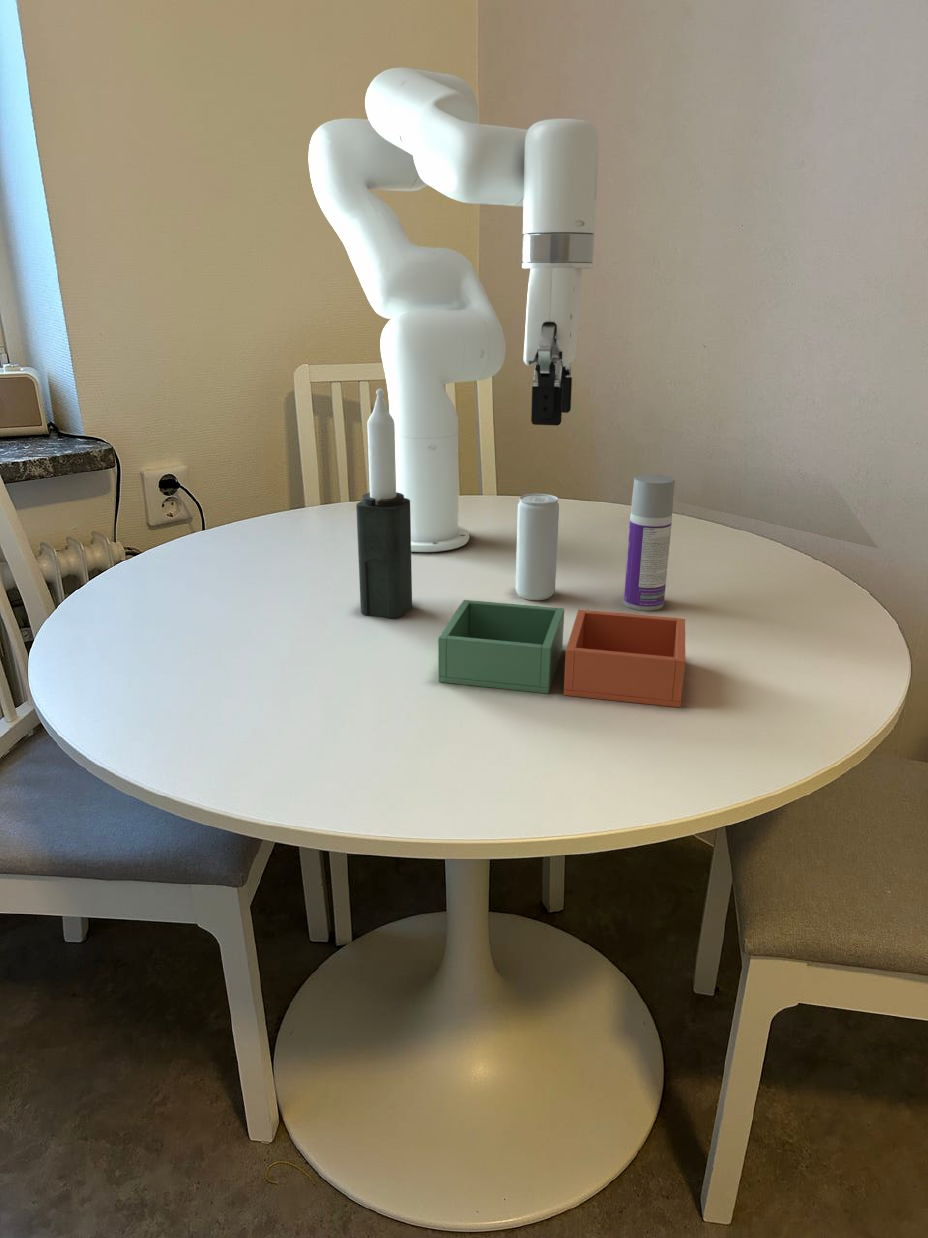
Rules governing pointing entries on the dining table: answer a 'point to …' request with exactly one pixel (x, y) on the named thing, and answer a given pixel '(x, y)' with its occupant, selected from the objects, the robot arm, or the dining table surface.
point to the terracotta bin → (626, 658)
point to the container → (649, 542)
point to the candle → (383, 525)
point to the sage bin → (501, 646)
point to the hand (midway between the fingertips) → (551, 417)
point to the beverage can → (536, 546)
